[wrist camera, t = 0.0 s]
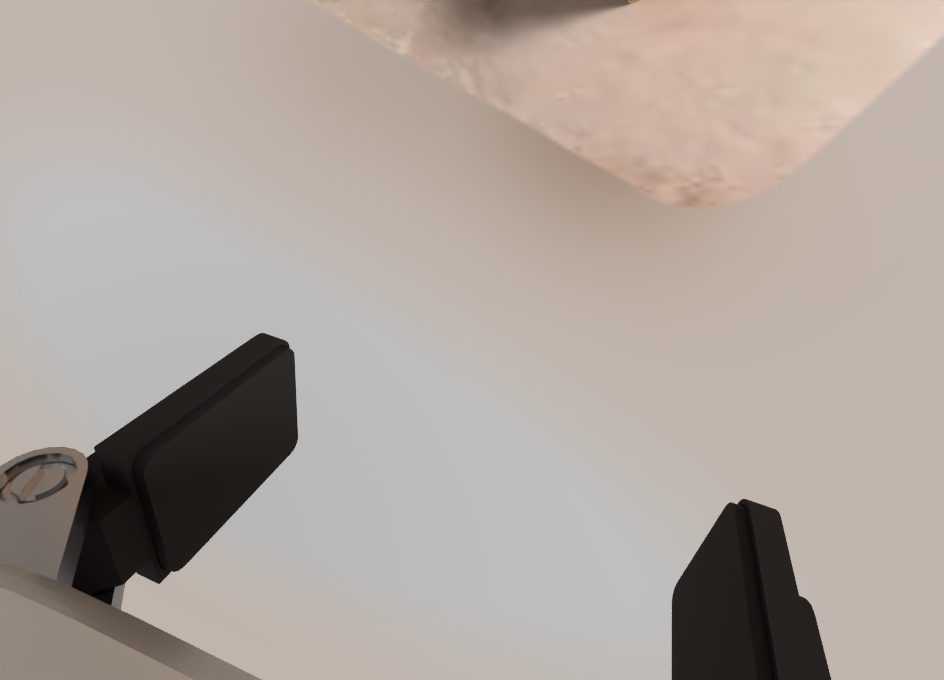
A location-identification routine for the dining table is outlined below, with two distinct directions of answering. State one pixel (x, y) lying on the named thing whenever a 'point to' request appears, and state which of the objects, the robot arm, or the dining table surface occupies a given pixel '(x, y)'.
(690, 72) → the dining table surface
